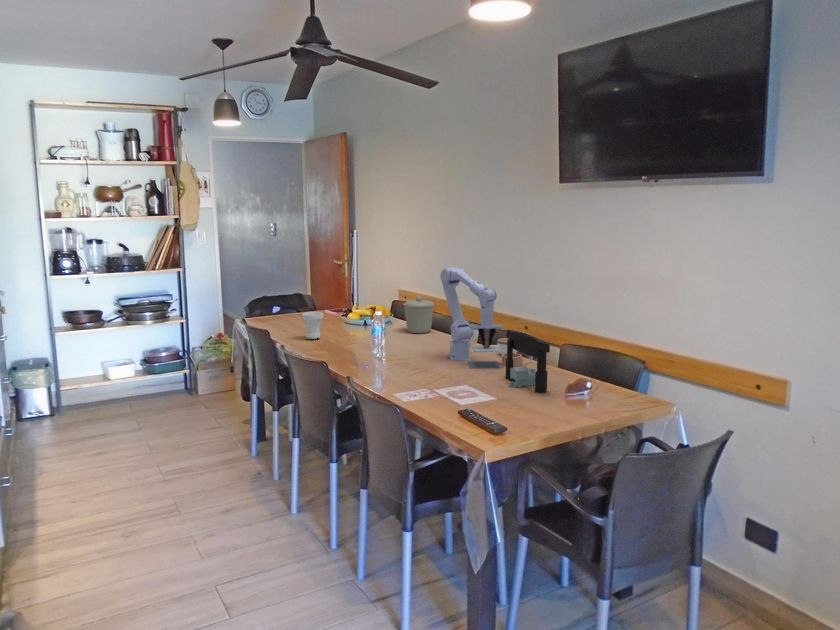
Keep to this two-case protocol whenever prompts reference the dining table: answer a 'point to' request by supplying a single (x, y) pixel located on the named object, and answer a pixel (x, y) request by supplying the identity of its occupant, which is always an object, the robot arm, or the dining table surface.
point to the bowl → (516, 359)
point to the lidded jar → (504, 345)
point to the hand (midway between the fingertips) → (486, 345)
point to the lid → (486, 347)
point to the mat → (483, 364)
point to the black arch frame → (531, 348)
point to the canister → (419, 315)
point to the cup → (312, 324)
